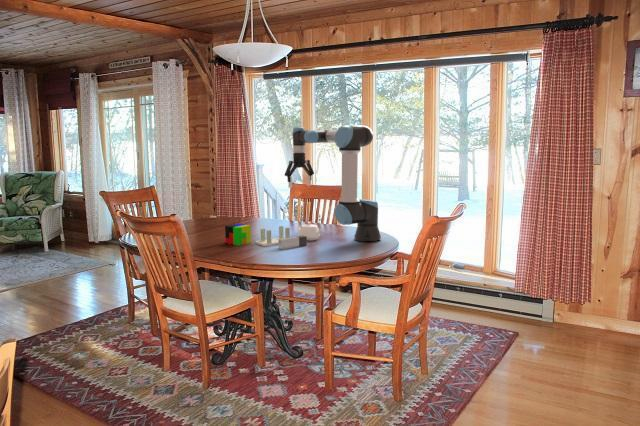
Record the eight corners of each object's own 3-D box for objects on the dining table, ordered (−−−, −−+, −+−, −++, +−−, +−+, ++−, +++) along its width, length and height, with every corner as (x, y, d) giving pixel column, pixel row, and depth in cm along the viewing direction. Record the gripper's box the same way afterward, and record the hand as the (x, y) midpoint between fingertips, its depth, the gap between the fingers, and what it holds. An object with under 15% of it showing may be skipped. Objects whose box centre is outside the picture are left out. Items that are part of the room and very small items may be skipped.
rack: (295, 241, 296) (294, 227, 294) (264, 246, 284) (264, 231, 283) (285, 238, 304) (285, 224, 302) (255, 243, 292) (255, 229, 291)
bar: (306, 245, 286) (306, 236, 286) (282, 249, 277) (281, 240, 276) (303, 244, 289) (303, 235, 288) (278, 248, 280) (278, 239, 279)
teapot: (329, 239, 300) (329, 222, 299) (314, 243, 292) (314, 225, 290) (305, 235, 314) (305, 218, 313) (290, 238, 306) (290, 221, 304)
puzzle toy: (239, 240, 301) (238, 223, 299) (251, 242, 294) (250, 225, 293) (225, 243, 293) (225, 226, 291) (237, 245, 287) (237, 228, 285)
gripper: (312, 151, 333) (313, 184, 336) (278, 152, 319) (279, 187, 322) (319, 152, 326) (319, 185, 330) (284, 153, 313) (285, 188, 316)
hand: (299, 186), depth 326 cm, fingers open, 13 cm apart
